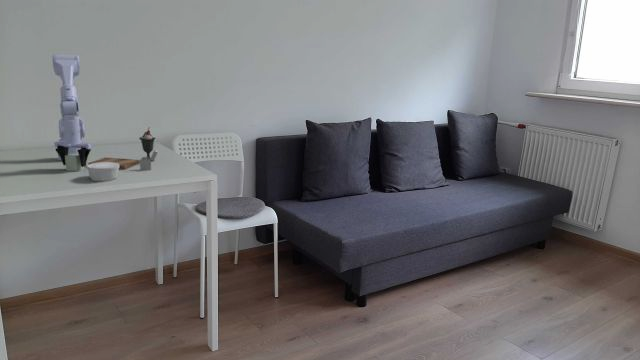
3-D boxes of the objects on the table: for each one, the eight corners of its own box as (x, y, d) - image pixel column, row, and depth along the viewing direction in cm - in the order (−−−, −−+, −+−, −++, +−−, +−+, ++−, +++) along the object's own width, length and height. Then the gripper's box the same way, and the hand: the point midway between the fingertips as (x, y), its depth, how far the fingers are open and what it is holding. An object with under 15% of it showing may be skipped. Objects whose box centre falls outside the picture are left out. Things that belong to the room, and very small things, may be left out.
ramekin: (86, 176, 191) (85, 162, 190) (117, 174, 196) (116, 160, 195) (89, 183, 182) (88, 169, 180) (122, 180, 187) (121, 167, 186)
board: (88, 166, 206) (88, 163, 205) (105, 160, 217) (104, 157, 217) (125, 169, 203) (124, 165, 203) (139, 163, 215) (139, 159, 215)
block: (66, 170, 198) (64, 155, 197) (73, 168, 203) (72, 153, 201) (76, 171, 198) (75, 156, 196) (83, 168, 202) (82, 154, 201)
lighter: (140, 170, 203) (139, 150, 201) (140, 169, 205) (139, 150, 203) (158, 169, 206) (158, 150, 204) (158, 168, 207) (157, 149, 205)
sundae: (151, 162, 217) (150, 128, 213) (137, 161, 218) (135, 127, 214) (159, 159, 223) (158, 126, 219) (145, 158, 224) (144, 125, 221)
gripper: (48, 132, 194) (51, 166, 197) (82, 134, 192) (85, 169, 195) (59, 129, 200) (62, 162, 204) (93, 131, 198) (96, 165, 202)
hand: (74, 165), depth 200 cm, fingers open, 7 cm apart
